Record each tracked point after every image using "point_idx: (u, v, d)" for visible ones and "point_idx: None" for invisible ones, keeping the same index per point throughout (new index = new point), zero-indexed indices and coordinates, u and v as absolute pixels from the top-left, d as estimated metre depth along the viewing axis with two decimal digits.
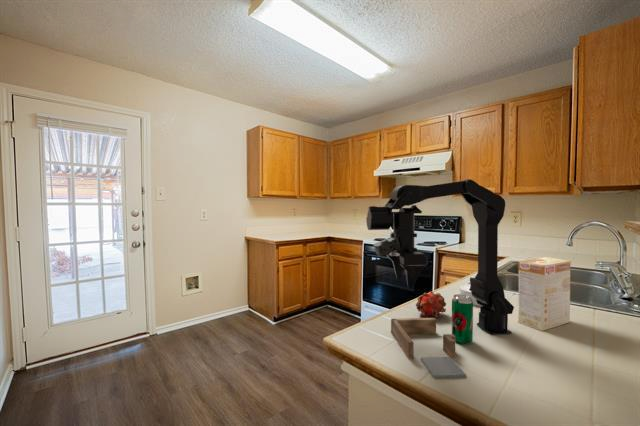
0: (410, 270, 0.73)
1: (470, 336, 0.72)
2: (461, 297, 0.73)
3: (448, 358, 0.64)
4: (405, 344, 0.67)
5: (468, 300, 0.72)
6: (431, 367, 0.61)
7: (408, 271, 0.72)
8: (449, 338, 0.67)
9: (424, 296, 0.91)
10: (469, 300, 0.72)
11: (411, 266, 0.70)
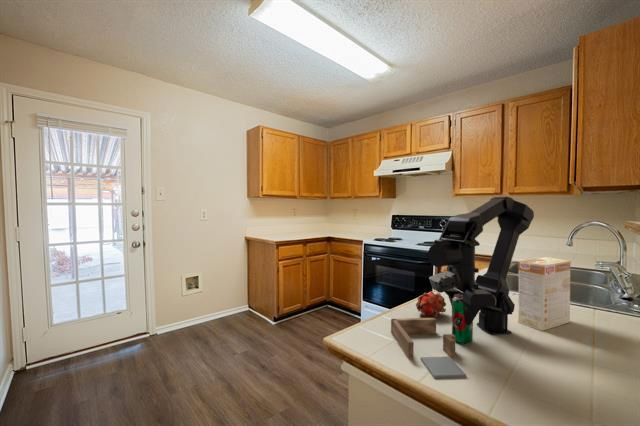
0: (469, 306, 0.70)
1: (470, 336, 0.72)
2: (461, 297, 0.73)
3: (448, 358, 0.64)
4: (405, 344, 0.67)
5: None
6: (431, 367, 0.61)
7: (468, 308, 0.69)
8: (449, 338, 0.67)
9: (424, 296, 0.91)
10: None
11: None
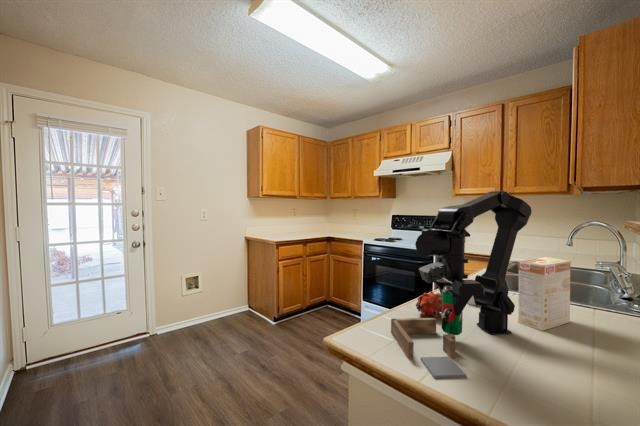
0: (459, 297, 0.70)
1: (459, 327, 0.71)
2: (451, 288, 0.73)
3: (448, 358, 0.64)
4: (405, 344, 0.67)
5: None
6: (431, 367, 0.61)
7: (457, 298, 0.69)
8: (449, 338, 0.67)
9: (424, 296, 0.91)
10: None
11: None
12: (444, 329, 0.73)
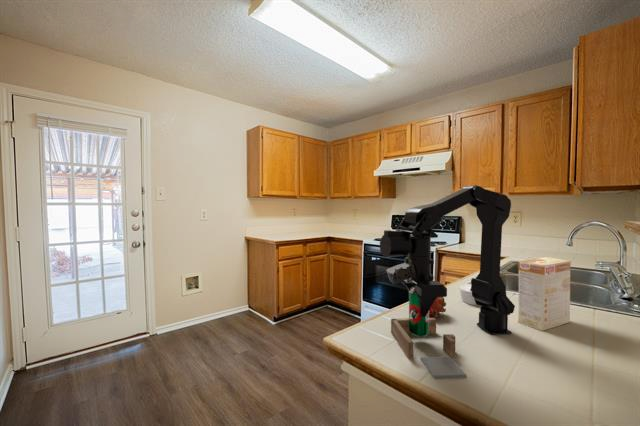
0: (424, 298, 0.69)
1: (426, 328, 0.71)
2: None
3: (448, 358, 0.64)
4: (405, 344, 0.67)
5: None
6: (431, 367, 0.61)
7: (422, 299, 0.69)
8: (449, 338, 0.67)
9: None
10: None
11: None
12: (411, 330, 0.72)
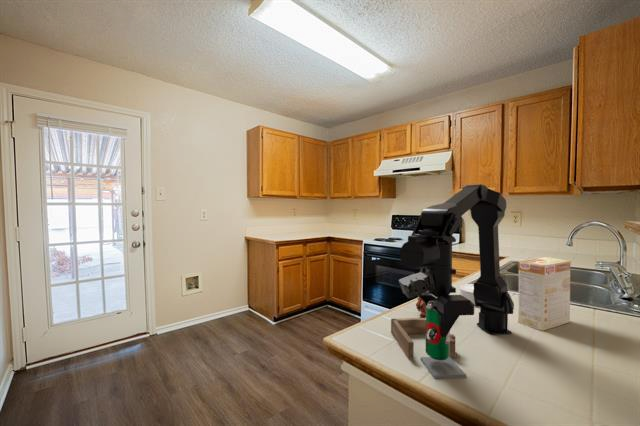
0: (445, 315, 0.58)
1: (446, 351, 0.60)
2: None
3: (448, 358, 0.64)
4: (405, 344, 0.67)
5: None
6: (431, 367, 0.61)
7: (442, 316, 0.58)
8: None
9: None
10: None
11: None
12: (428, 352, 0.62)
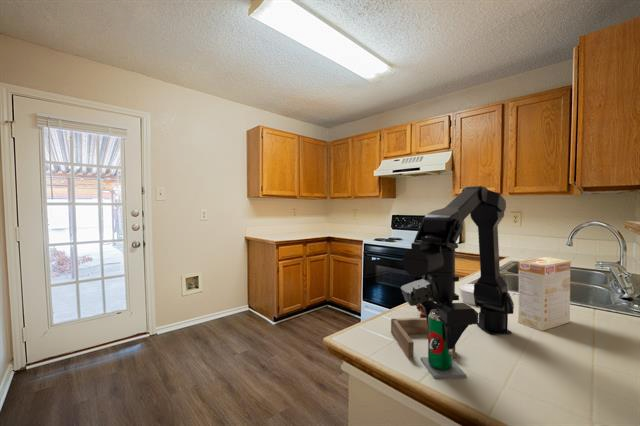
0: (451, 326, 0.56)
1: (449, 361, 0.59)
2: None
3: None
4: (405, 344, 0.67)
5: None
6: (431, 367, 0.61)
7: (449, 328, 0.55)
8: None
9: None
10: None
11: None
12: (431, 362, 0.61)
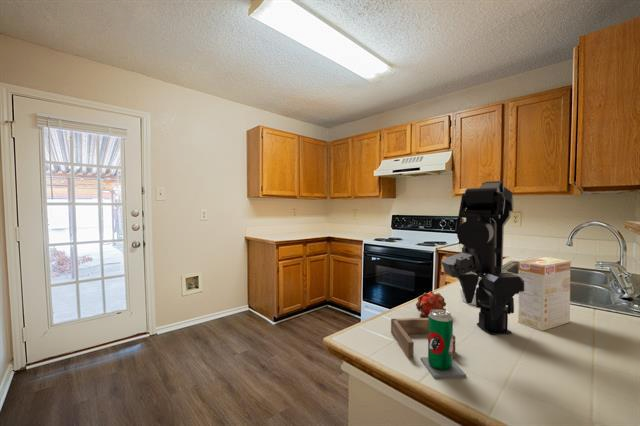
0: (497, 296, 0.57)
1: (449, 361, 0.59)
2: (439, 313, 0.61)
3: None
4: (405, 344, 0.67)
5: (447, 317, 0.59)
6: (431, 367, 0.61)
7: (495, 298, 0.56)
8: None
9: (424, 296, 0.91)
10: (448, 317, 0.59)
11: (502, 292, 0.54)
12: (431, 362, 0.61)
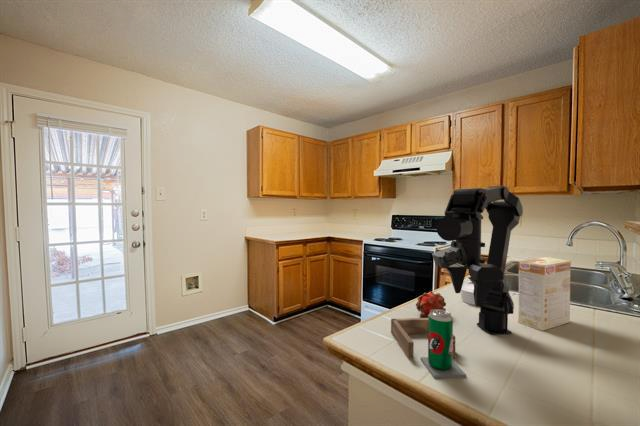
0: (480, 285, 0.64)
1: (449, 361, 0.59)
2: (439, 313, 0.61)
3: None
4: (405, 344, 0.67)
5: (447, 317, 0.59)
6: (431, 367, 0.61)
7: (479, 286, 0.63)
8: None
9: (424, 296, 0.91)
10: (448, 317, 0.59)
11: (484, 281, 0.61)
12: (431, 362, 0.61)
